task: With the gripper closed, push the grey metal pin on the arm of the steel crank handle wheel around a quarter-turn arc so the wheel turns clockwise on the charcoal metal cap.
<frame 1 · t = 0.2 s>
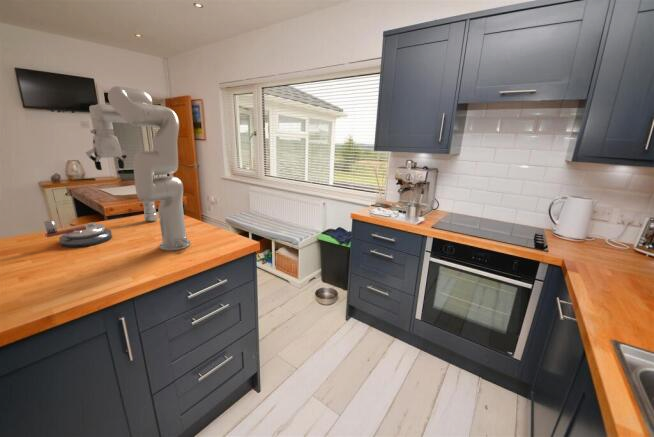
hand: (110, 169, 135), 31 cm above the worktop, tool pointing down, fingers open, 9 cm apart
plastic bottle: (151, 221, 157), on the worktop
cap base: (87, 240, 126), on the worktop
crank handle wheel: (75, 226, 121), point 8 cm above the worktop, hinge at 0.0°
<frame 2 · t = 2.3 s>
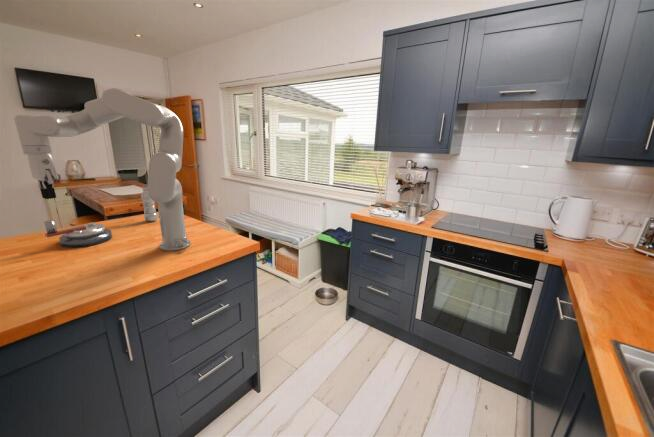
hand: (49, 197, 107), 23 cm above the worktop, tool pointing down, fingers closed
nothing on the worktop moved.
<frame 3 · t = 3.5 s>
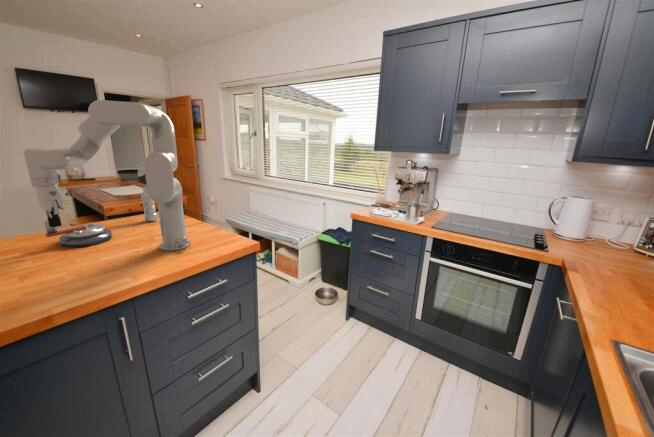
hand: (55, 226, 110), 11 cm above the worktop, tool pointing down, fingers closed
nothing on the worktop moved.
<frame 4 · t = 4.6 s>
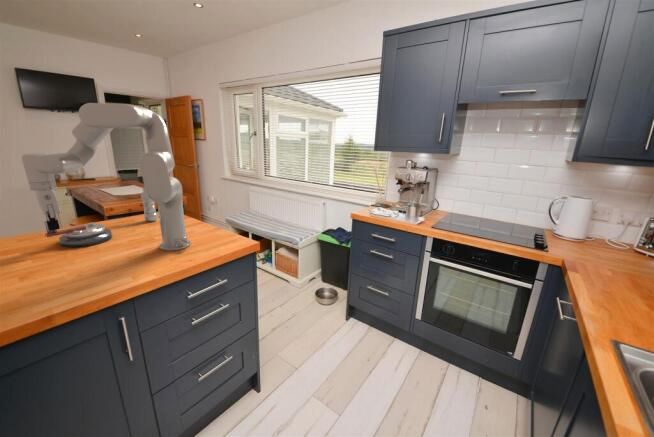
hand: (54, 229, 112), 9 cm above the worktop, tool pointing down, fingers closed
crank handle wheel: (75, 226, 121), point 8 cm above the worktop, hinge at 0.1°, touching gripper
everything else where it was.
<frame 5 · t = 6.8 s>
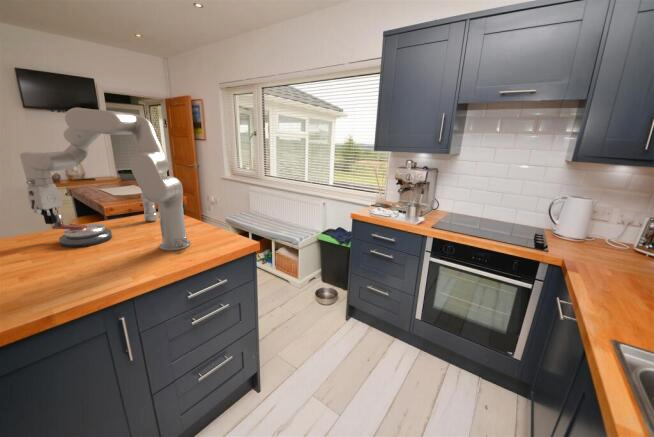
hand: (51, 223, 119), 9 cm above the worktop, tool pointing down, fingers closed
crank handle wheel: (77, 224, 124), point 8 cm above the worktop, hinge at 59.2°, touching gripper
everything else where it was.
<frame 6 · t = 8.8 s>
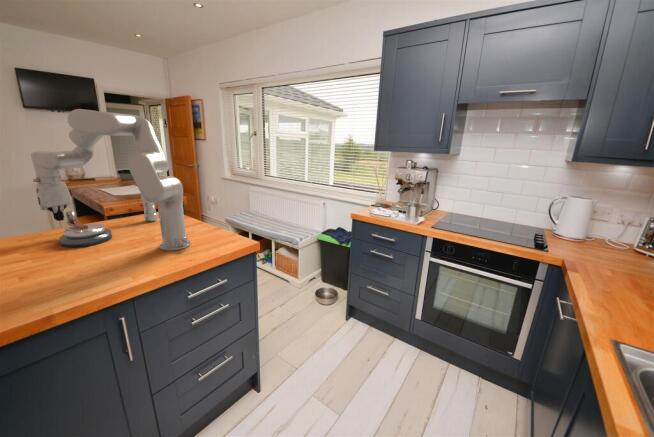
hand: (59, 220, 124), 9 cm above the worktop, tool pointing down, fingers closed
crank handle wheel: (80, 223, 125), point 8 cm above the worktop, hinge at 88.0°
everything else where it was.
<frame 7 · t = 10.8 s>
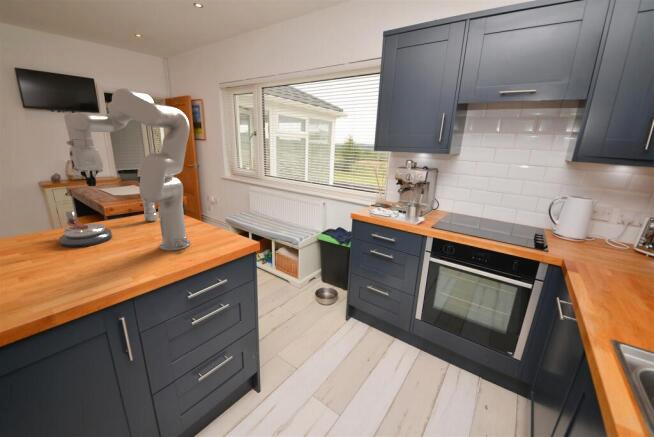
hand: (92, 185, 122), 25 cm above the worktop, tool pointing down, fingers closed
nothing on the worktop moved.
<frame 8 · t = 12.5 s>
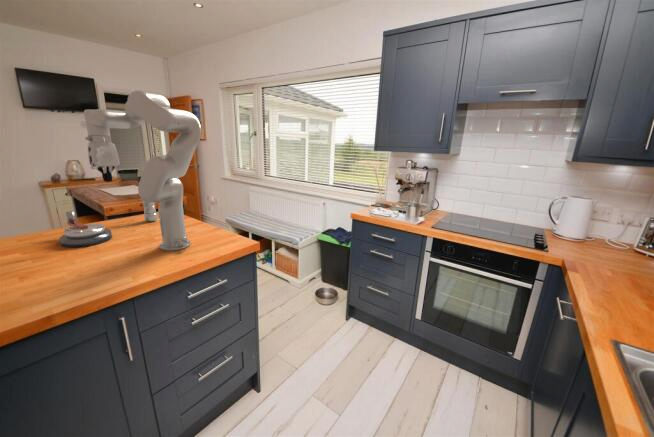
hand: (108, 181, 124), 27 cm above the worktop, tool pointing down, fingers closed
nothing on the worktop moved.
at the end: crank handle wheel at +88° (first picture: +0°); plastic bottle moved 0.2 cm from its start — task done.
